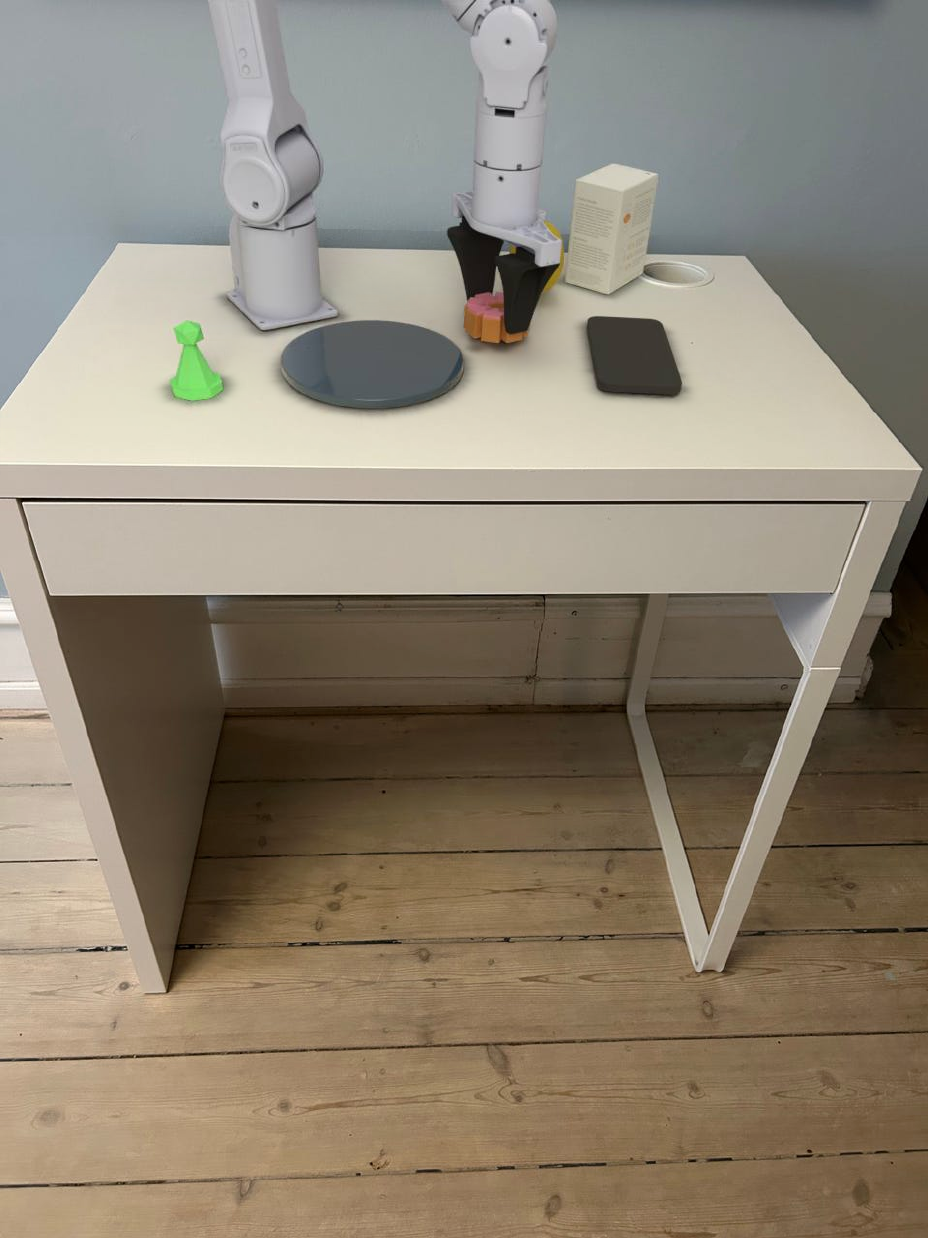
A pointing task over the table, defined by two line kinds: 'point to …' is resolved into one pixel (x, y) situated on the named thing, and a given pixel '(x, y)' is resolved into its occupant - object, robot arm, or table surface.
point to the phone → (632, 355)
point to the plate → (372, 364)
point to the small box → (610, 227)
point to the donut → (488, 319)
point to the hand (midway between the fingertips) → (497, 318)
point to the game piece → (193, 367)
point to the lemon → (558, 271)
